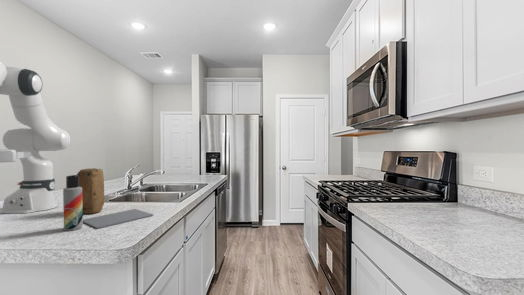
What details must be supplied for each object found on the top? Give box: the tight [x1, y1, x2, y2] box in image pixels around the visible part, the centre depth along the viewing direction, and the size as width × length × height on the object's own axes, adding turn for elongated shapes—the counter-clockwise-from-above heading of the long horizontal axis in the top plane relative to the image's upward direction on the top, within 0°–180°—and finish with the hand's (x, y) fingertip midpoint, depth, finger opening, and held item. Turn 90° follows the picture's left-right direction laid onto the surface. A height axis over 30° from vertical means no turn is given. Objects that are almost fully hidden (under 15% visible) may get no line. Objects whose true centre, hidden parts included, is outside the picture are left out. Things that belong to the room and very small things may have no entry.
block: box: [76, 168, 105, 215], centre depth 118 cm, size 11×8×20 cm
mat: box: [83, 208, 154, 230], centre depth 108 cm, size 22×16×1 cm
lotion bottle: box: [62, 174, 84, 232], centre depth 95 cm, size 6×6×20 cm
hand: (29, 154), depth 86 cm, fingers open, 3 cm apart
